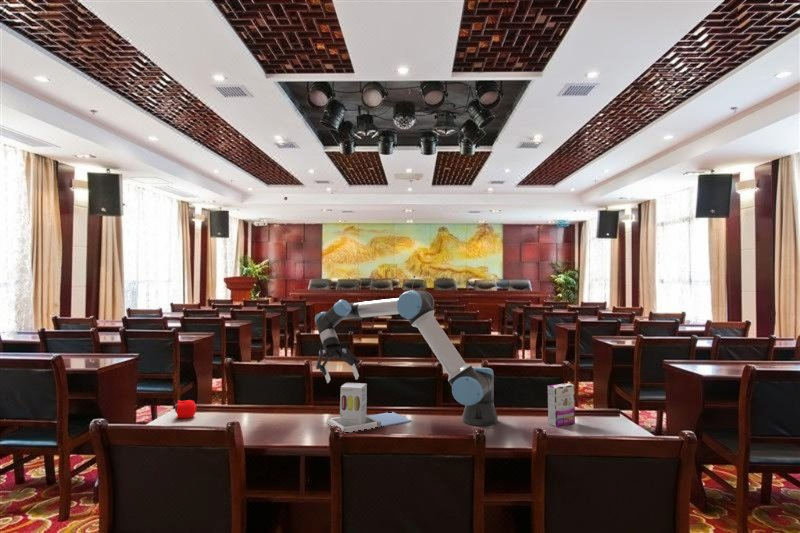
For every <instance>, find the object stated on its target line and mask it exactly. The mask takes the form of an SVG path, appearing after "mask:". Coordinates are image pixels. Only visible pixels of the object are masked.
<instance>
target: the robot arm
mask: <svg viewBox="0 0 800 533" xmlns="http://www.w3.org/2000/svg"><path fill="white" fill-rule="evenodd" d="M434 307H435V300H434V297H433V295H432V294H431V292H429V291H426V290H407V291H404V292H402V294H400V295H399V297H396V298H385V299H377V300H370V301H362V302H361V301H360V302H352V303H349V301H347V300H345V299H339V300H338V301H337V302H335V303H334V305H333V306H332V307H331V308H329V309H328V311H321V312H320V313H317V314H316V315H315V316H314V322H315V326H316V328H317V331H318V333H319V338H320V341H321V345H322V347H323V348H320V349H319V351H318V360H317V363H316V367H315V369H316V370H319V371H320V372H321V373H322V375H323V376H324V377H325V380H326V384H329V383H330V381H331V375H330V373H329V370H328V367H327V366H326V365H327V363H328V362H329V360H330V359H332V360H333V359H334V360H335V359H340V360H342V361H344V362H345V363H347V365H349V366H351V371H352V374H353V376H354V380H358V379H359V377H360V375H359V368H358V366H359V365H360V360H359V358H357V357H356V356H355V355H354V354H353V353H352V352H351V351H350V350H349V348H348V346H345V348H342V347H341V344H340V340H339V338H338V335H337V333H336V332H337V331H336V330H335V327H336V326H337V325H338V324H339V323H340V322H341V321H343V320H351V319H362V318H372V317H381V316H392V315H400V316H401V317H402V318H403V319H407V321H408V322H409V324H410V325H411V326H412V327H414V328H417V329H418V331H419V332H420V334H421V335H422V337H423V338H424V340H425V341H426V343H427V344H428V346H429V348H430V349H431V351H432V353H434V354H433V355H435V356H436V358H437V360H438V361H439V363H440V364H441V366H442V367H443V369H444V370H445V372H446V374H447V375H448V377H447V378H448V379H447V381H448V383H449V384H450V386H451V393H452V396H453V398H454V399H455V400H456V402H458V403H459V404H461V405H463V406H464V409H463V413H462V415H461V416H462V417H461V419H462V422H463V423H465V424H468V425H472V426H481V427H483V426H485V427H488V426H492V425H496V424H498V422H499V421H498V420H499V419H498V414H497V411H496V407H495V404H494V388H495V386H494V382H495V381H494V376H495V375H494V370H493V369H492V368H489V367H481V366H472V364H468V363H466V361H465V360H464V359H463V357H462V356H461V354H460V353H459V351H458V350H457V349H456V347H455V345H454V344H453V342H452V341H451V340H450V338H449V337H448V335H447V334H446V332H445V331H444V329H443V328H442V326H441V325H440V323H439V322H438V320H437V319H436V317H435V310H434ZM324 355H326V357H325V359H324V361H323V363H322V360H323V356H324ZM321 363H322V364H321Z"/></svg>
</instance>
